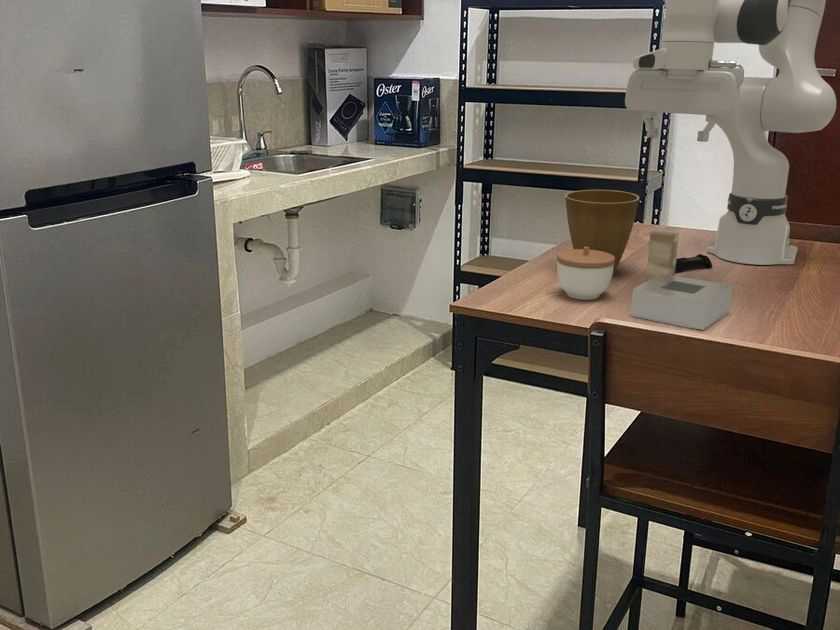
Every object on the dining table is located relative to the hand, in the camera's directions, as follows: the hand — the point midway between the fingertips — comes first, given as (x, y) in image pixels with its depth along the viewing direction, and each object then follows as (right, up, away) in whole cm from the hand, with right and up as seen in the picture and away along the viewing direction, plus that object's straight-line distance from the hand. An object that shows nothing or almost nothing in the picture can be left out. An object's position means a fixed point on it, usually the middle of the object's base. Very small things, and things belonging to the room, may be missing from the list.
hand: (676, 139), depth 153 cm
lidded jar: (-16, -28, +8) cm, 33 cm away
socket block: (0, -32, -3) cm, 32 cm away
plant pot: (-9, -23, +25) cm, 35 cm away
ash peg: (-1, -28, +9) cm, 29 cm away
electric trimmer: (+9, -23, +26) cm, 36 cm away
